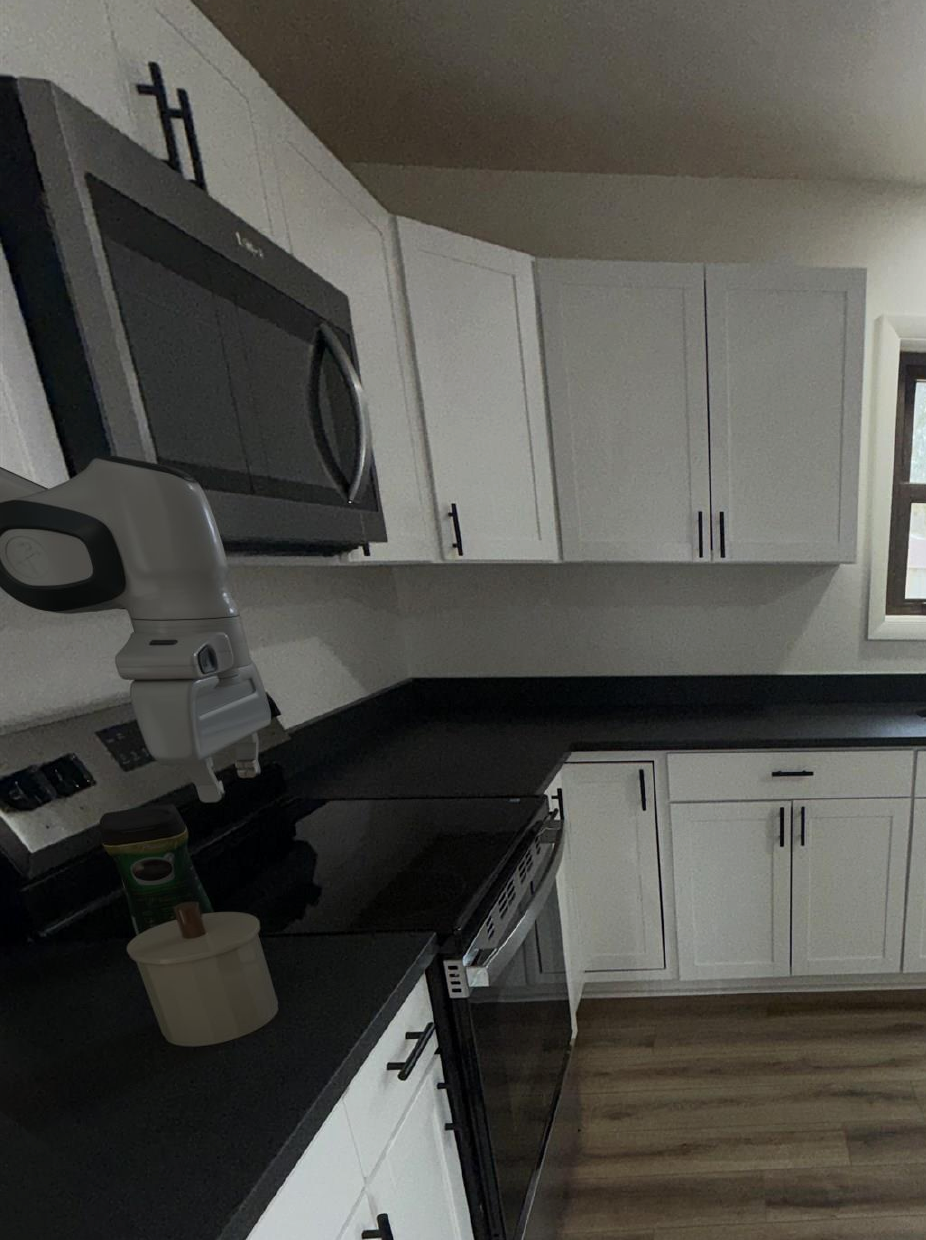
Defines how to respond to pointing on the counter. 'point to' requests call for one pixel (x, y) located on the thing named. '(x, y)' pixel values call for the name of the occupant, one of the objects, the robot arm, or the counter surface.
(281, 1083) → the counter surface
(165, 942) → the cream pot lid
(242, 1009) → the cup
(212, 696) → the robot arm
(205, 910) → the coffee jar
